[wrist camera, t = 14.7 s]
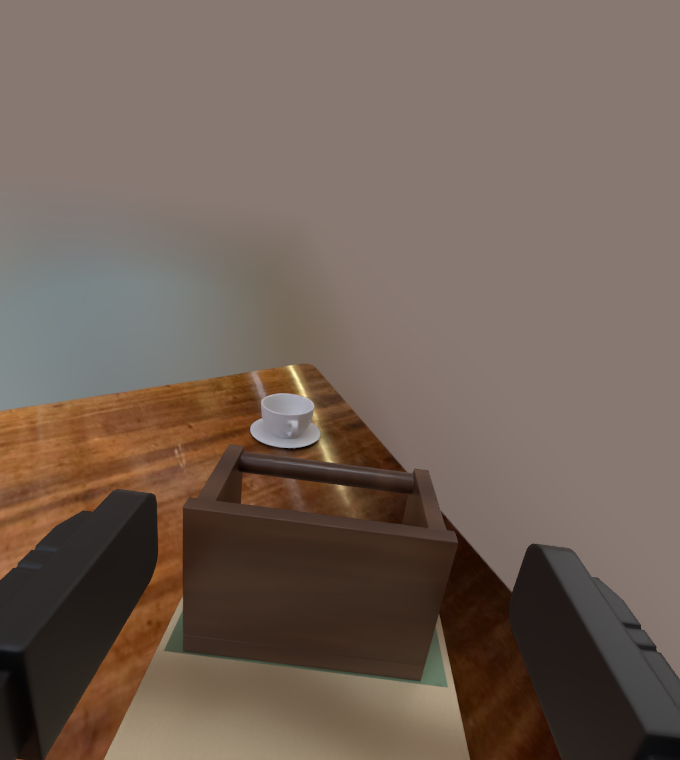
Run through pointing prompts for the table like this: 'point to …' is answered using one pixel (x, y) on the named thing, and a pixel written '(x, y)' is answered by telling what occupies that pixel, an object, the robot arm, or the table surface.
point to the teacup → (286, 422)
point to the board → (287, 710)
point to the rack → (314, 572)
